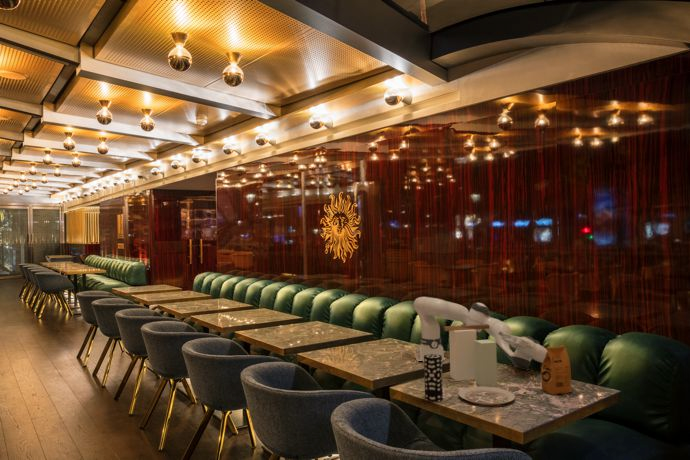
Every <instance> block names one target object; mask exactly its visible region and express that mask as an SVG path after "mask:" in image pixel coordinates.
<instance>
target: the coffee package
mask: <svg viewBox="0 0 690 460" xmlns="http://www.w3.org/2000/svg"><path fill="white" fill-rule="evenodd" d="M545 348H546V349H547V353H546V356H545V358H544V360H543V363H542V364H541V367H540V368H541V369H540V370H541V389H542V391H543V392H546V393H547V394H549V395H553V396H555V395H558V394H561V395H565V394H568V393H571V392H572V375H571V374H572V372H571V371H572V370H571V359H570V357H569V354H568V352H567V348H566V346H565V345H564V344H562V345H560V346H559V345H558V346H557V347H556V346H545Z"/></svg>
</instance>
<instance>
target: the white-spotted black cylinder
mask: <svg viewBox="0 0 690 460" xmlns="http://www.w3.org/2000/svg"><path fill="white" fill-rule="evenodd" d="M423 368H424V369H423V370H424V371H423V372H424V373H423V374H424V375H423V376H424V400H425V401H428V402H434V403H437V402H442V401H443V400H444V388H443V387H444V386H443V383H444V382H443V362H442V356H441V355H437V354H428V355H424V362H423Z"/></svg>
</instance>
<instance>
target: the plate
mask: <svg viewBox="0 0 690 460" xmlns="http://www.w3.org/2000/svg"><path fill="white" fill-rule="evenodd" d="M474 392H475V393H492V394H497V395H501V396H503V397H505V398H507V401H504V402H497V403H496V402H495V403H494V402H493V403H492V402H490V403H489V402H481V401H480V402H478V401H474V400H471V399H468V398H466V397H467V395H469V394H473V393H474ZM458 396H459V397H460V398H461V399H464V400H466V401H468V402H470V403H473V404H475V405H476V404H477V405H480V406H481V405H482V406H499V405H504V404H506V403H509V402H512V401H514V400H515V398H516V396H515V394H514V393H513V392H511V391H510V390H506V389H503V388H499V387H496V386H494V387H481V386H480V385H479V386H469V387H468V386H467V387H464V388H463V389H460V390H459V391H458Z"/></svg>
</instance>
